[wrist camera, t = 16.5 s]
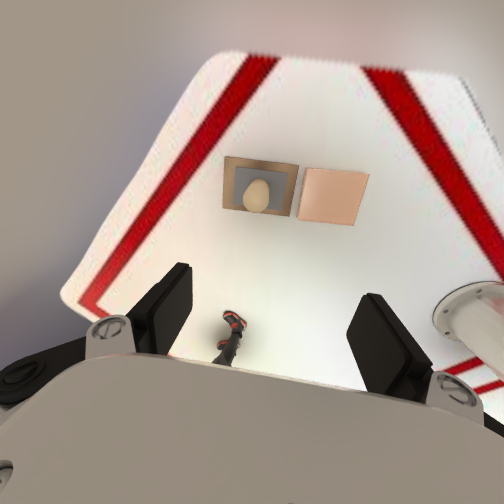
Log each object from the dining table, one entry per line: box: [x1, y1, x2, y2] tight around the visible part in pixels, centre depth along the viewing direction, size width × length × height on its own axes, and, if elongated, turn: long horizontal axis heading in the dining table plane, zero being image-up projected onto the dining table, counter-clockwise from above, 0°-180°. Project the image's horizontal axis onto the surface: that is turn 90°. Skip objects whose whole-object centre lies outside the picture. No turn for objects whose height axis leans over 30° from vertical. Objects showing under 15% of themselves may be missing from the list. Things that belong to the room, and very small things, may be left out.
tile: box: [297, 168, 370, 226], centre depth 29 cm, size 2×7×8 cm
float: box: [233, 166, 288, 213], centre depth 25 cm, size 7×5×8 cm
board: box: [223, 157, 299, 216], centre depth 29 cm, size 10×7×1 cm
